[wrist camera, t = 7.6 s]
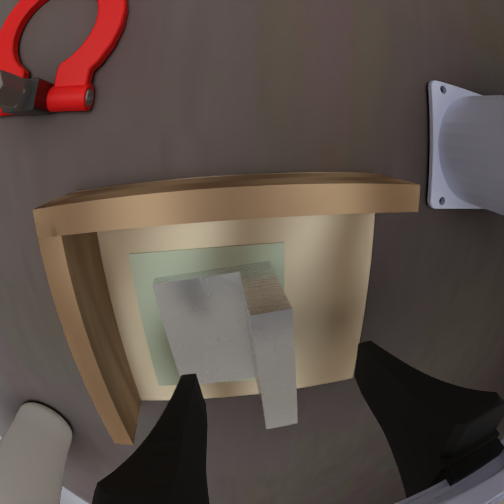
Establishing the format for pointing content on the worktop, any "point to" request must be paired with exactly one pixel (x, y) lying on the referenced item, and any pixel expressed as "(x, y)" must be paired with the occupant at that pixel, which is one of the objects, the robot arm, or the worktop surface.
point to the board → (240, 253)
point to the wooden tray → (170, 213)
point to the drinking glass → (34, 456)
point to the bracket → (234, 332)
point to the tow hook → (69, 72)
